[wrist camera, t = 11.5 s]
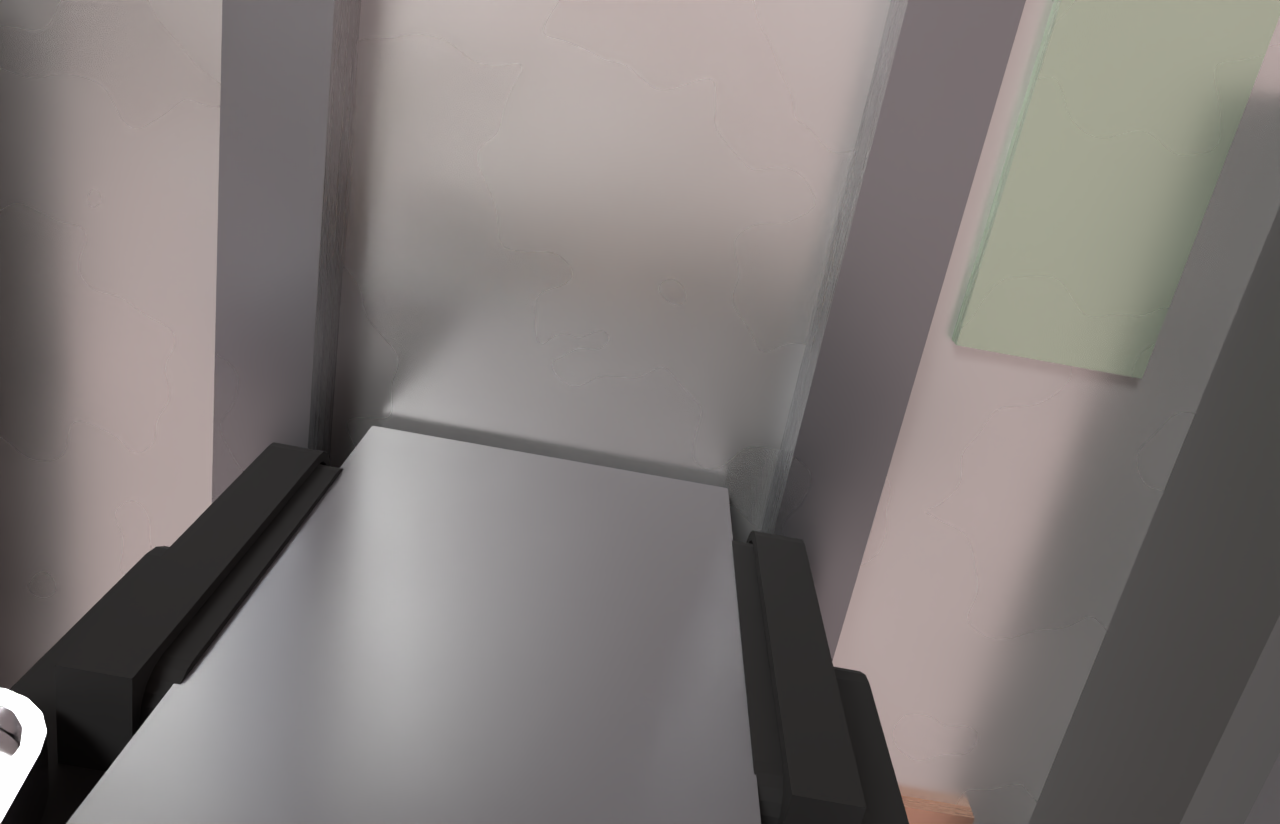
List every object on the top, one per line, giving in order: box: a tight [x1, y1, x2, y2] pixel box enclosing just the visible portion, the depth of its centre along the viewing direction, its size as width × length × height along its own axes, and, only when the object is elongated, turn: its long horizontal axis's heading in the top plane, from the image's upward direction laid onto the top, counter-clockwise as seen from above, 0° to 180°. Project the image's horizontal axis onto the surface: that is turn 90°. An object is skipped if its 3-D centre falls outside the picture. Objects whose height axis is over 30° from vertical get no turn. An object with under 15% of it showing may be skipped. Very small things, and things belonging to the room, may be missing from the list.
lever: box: [66, 426, 761, 824], centre depth 9 cm, size 4×4×7 cm
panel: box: [0, 0, 1280, 824], centre depth 12 cm, size 22×16×3 cm
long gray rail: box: [1028, 206, 1280, 824], centre depth 10 cm, size 18×12×3 cm, turn 80°
